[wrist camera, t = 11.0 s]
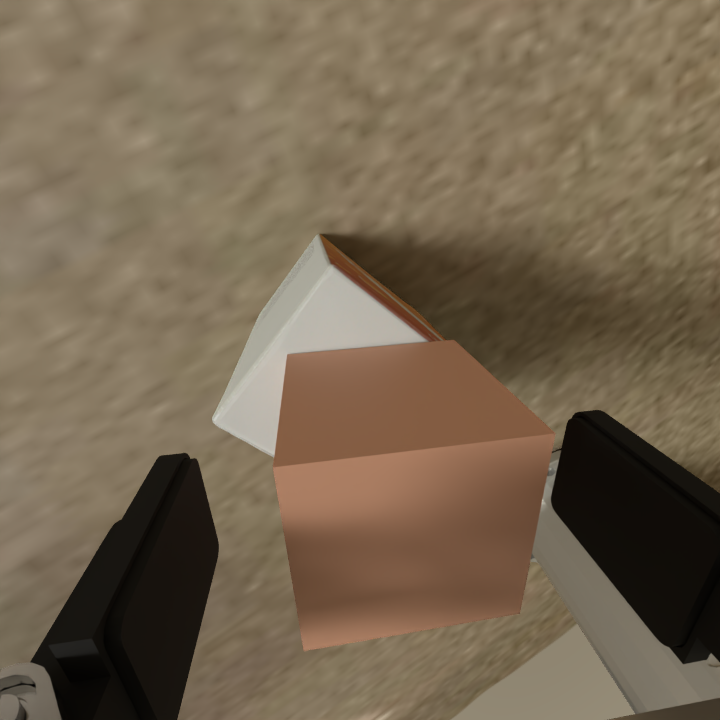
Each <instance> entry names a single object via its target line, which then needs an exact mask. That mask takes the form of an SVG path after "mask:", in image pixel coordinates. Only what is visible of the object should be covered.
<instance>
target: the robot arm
mask: <svg viewBox="0 0 720 720" xmlns="http://www.w3.org/2000/svg"><path fill="white" fill-rule="evenodd" d="M218 552H219V544H218V538H217V534H216V530H215V526H214V523H213V519H212V515H211V511H210V507H209V503H208V499H207V495H206V491H205V487H204V483H203V479H202V475H201V471H200V467H199V463H198V461H197V459H195V458H194V459H190V457H189V455H188V454H186V453H182V454H172V455H162V456H159V457H158V459H157V460H156V462H155V463H154V465H153V467H152V468H151V470H150V472H149V474H148V475H147V477H146V479H145V480H144V482H143V484H142V486H141V487H140V489H139V491H138V492H137V494H136V496H135V497H134V499H133V501H132V503H131V504H130V506H129V508H128V509H127V511H126V513H125V515H124V516H123V518H122V520H119V521H118V522H116V523H115V524H114V525H113V526H112V528H111V529H110V530H109V532H108V534H107V535H106V537H105V539H104V540H103V542H102V544H101V545H100V547H99V549H98V550H97V552H96V554H95V555H94V557H93V559H92V560H91V562H90V564H89V565H88V567H87V569H86V570H85V572H84V574H83V575H82V577H81V579H80V580H79V582H78V584H77V585H76V587H75V589H74V590H73V592H72V594H71V595H70V597H69V599H68V600H67V602H66V604H65V605H64V607H63V609H62V610H61V612H60V614H59V615H58V617H57V619H56V620H55V622H54V624H53V625H52V627H51V629H50V630H49V632H48V633H47V635H46V637H45V638H44V640H43V642H42V643H41V645H40V647H39V648H38V650H37V652H36V653H35V655H34V657H33V658H32V660H31V662H30V663H19V664H14V665H12V666H9V667H6V668H3V669H0V720H177V718H178V714H179V710H180V706H181V702H182V698H183V694H184V690H185V686H186V682H187V678H188V674H189V670H190V666H191V662H192V658H193V654H194V650H195V646H196V642H197V638H198V634H199V630H200V626H201V622H202V618H203V614H204V610H205V606H206V602H207V598H208V595H209V591H210V587H211V583H212V579H213V575H214V571H215V567H216V563H217V559H218ZM530 561H531V562H538V563H539V565H540V566H541V568H542V569H543V571H544V573H545V574H546V576H547V577H548V579H549V580H550V582H551V583H552V585H553V587H554V588H555V590H556V591H557V593H558V594H559V596H560V597H561V599H562V601H563V602H564V604H565V605H566V607H567V608H568V610H569V611H570V613H571V615H572V616H573V618H574V619H575V621H576V622H577V624H578V625H579V627H580V629H581V630H582V632H583V633H584V635H585V636H586V638H587V639H588V641H589V642H590V644H591V646H592V647H593V649H594V650H595V652H596V653H597V655H598V656H599V658H600V659H601V661H602V663H603V664H604V666H605V667H606V669H607V670H608V672H609V674H610V675H611V677H612V678H613V680H614V681H615V683H616V684H617V686H618V688H619V689H620V691H621V692H622V694H623V695H624V697H625V699H626V700H627V702H628V703H629V705H630V706H631V708H632V709H633V711H634V713H635V715H629V716H624V717H619V718H614V719H609V720H720V493H718V492H717V491H716V490H714V489H713V488H711V487H710V486H709V485H707V484H706V483H704V482H703V481H701V480H700V479H699V478H697V477H696V476H694V475H693V474H691V473H690V472H689V471H687V470H686V469H684V468H683V467H682V466H680V465H679V464H677V463H676V462H674V461H673V460H672V459H670V458H669V457H667V456H666V455H664V454H663V453H662V452H660V451H659V450H657V449H656V448H655V447H653V446H652V445H650V444H649V443H647V442H646V441H645V440H643V439H642V438H640V437H639V436H637V435H636V434H635V433H633V432H632V431H630V430H629V429H628V428H626V427H625V426H623V425H622V424H620V423H619V422H618V421H616V420H615V419H613V418H612V417H610V416H609V415H608V414H606V413H605V412H603V411H601V410H593V411H584V412H577V413H575V414H574V415H573V417H572V419H570V420H569V421H568V423H567V426H566V431H565V435H564V440H563V444H562V449H561V450H559V451H556V452H554V453H552V454H551V459H550V464H549V469H548V474H547V479H546V484H545V489H544V494H543V499H542V504H541V509H540V514H539V520H538V525H537V530H536V535H535V540H534V545H533V550H532V555H531V560H530Z"/></svg>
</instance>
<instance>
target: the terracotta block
mask: <svg viewBox="0 0 720 720" xmlns="http://www.w3.org/2000/svg"><path fill="white" fill-rule="evenodd" d="M555 434H556V433H554V432H553V431H552V430H551V429H550V428H549V427H548V426H547V425H546V424H545V423H544V422H543V421H541V420H540V419H539V418H538V417H537V416H536V415H535V414H534V413H533V412H532V411H531V410H530V409H528V408H527V407H526V406H525V405H524V404H523V403H522V402H521V401H520V400H519V399H518V398H517V397H515V396H514V395H513V394H512V393H511V392H510V391H509V390H508V389H507V388H506V387H505V386H504V385H503V384H501V383H500V382H499V381H498V380H497V379H496V378H495V377H494V376H493V375H492V374H491V373H490V372H488V371H487V370H486V369H485V368H484V367H483V366H482V365H481V364H480V363H479V362H478V361H477V360H475V359H474V358H473V357H472V356H471V355H470V354H469V353H468V352H467V351H466V350H465V349H464V348H462V347H461V346H460V345H459V344H458V343H457V342H456V341H455V340H445V341H434V342H423V343H411V344H400V345H389V346H378V347H366V348H355V349H344V350H332V351H321V352H310V353H298V354H287V359H286V367H285V375H284V383H283V391H282V399H281V407H280V415H279V423H278V431H277V439H276V447H275V455H274V463H273V470H274V476H275V482H276V488H277V494H278V500H279V506H280V512H281V518H282V524H283V530H284V536H285V542H286V548H287V554H288V560H289V566H290V572H291V577H292V583H293V589H294V595H295V601H296V607H297V613H298V619H299V625H300V631H301V637H302V643H303V649H304V651H307V650H313V649H318V648H324V647H330V646H336V645H341V644H347V643H353V642H359V641H365V640H370V639H376V638H382V637H388V636H394V635H399V634H405V633H411V632H417V631H422V630H428V629H434V628H440V627H446V626H451V625H457V624H463V623H469V622H474V621H480V620H486V619H492V618H498V617H503V616H509V615H515V614H520V610H521V605H522V600H523V595H524V590H525V585H526V580H527V575H528V570H529V565H530V560H531V555H532V550H533V545H534V540H535V535H536V530H537V525H538V520H539V514H540V509H541V504H542V499H543V494H544V489H545V484H546V479H547V474H548V469H549V464H550V459H551V454H552V449H553V444H554V439H555Z"/></svg>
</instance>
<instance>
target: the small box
mask: <svg viewBox="0 0 720 720" xmlns="http://www.w3.org/2000/svg"><path fill="white" fill-rule="evenodd" d="M445 340H446V339H445V338H443V337H442V336H441V335H440V334H439V333H438V332H437V331H436V330H435V329H434V328H433V327H432V326H431V325H430V324H429V323H428V321H427V320H426V319H425V318H424V317H423V316H422V315H420V314H419V313H418V312H417V311H416V310H415V309H414V308H413V307H411V306H410V305H408V304H407V303H405V302H404V301H403V300H401V299H400V298H399V297H398V296H396V295H395V294H394V293H392V292H391V291H390V290H389V289H388V288H386V287H385V286H384V285H382V284H381V283H380V282H379V281H377V280H376V279H375V278H374V277H372V276H371V275H370V274H369V273H367V272H366V271H365V270H364V269H362V268H361V267H360V266H359V265H358V264H356V263H355V262H354V261H353V260H351V259H350V258H349V257H348V256H346V255H345V254H344V253H343V252H341V251H340V250H339V249H338V248H337V247H335V246H334V245H333V244H332V243H331V242H329V241H328V240H327V239H326V238H325V237H323V236H322V235H321V234H317V235H316V237H315V238H314V239H313V241H312V242H311V243H310V245H309V246H308V248H307V249H306V250H305V252H304V253H303V255H302V256H301V257H300V259H299V260H298V262H297V263H296V264H295V266H294V267H293V268H292V270H291V271H290V273H289V274H288V275H287V277H286V278H285V279H284V281H283V282H282V284H281V285H280V286H279V288H278V289H277V291H276V292H275V293H274V295H273V296H272V297H271V299H270V300H269V302H268V303H267V304H266V306H265V307H264V308H263V310H262V311H261V313H260V315H259V317H258V319H257V321H256V323H255V325H254V328H253V330H252V332H251V334H250V337H249V339H248V341H247V343H246V346H245V348H244V351H243V353H242V355H241V357H240V359H239V362H238V364H237V366H236V368H235V370H234V373H233V375H232V377H231V380H230V382H229V384H228V386H227V389H226V391H225V393H224V395H223V397H222V399H221V401H220V403H219V405H218V407H217V409H216V411H215V413H214V415H213V417H212V421H213V422H214V424H216V425H217V426H218V427H219V428H221V429H223V430H225V431H227V432H229V433H230V434H232V435H234V436H235V437H237V438H239V439H241V440H243V441H245V442H247V443H249V444H250V445H252V446H254V447H256V448H257V449H259V450H261V451H263V452H265V453H267V454H269V455H271V456H272V457H274V455H275V447H276V439H277V431H278V423H279V415H280V407H281V399H282V391H283V383H284V375H285V367H286V359H287V354H298V353H310V352H321V351H332V350H344V349H355V348H366V347H378V346H389V345H400V344H411V343H423V342H434V341H445Z"/></svg>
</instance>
